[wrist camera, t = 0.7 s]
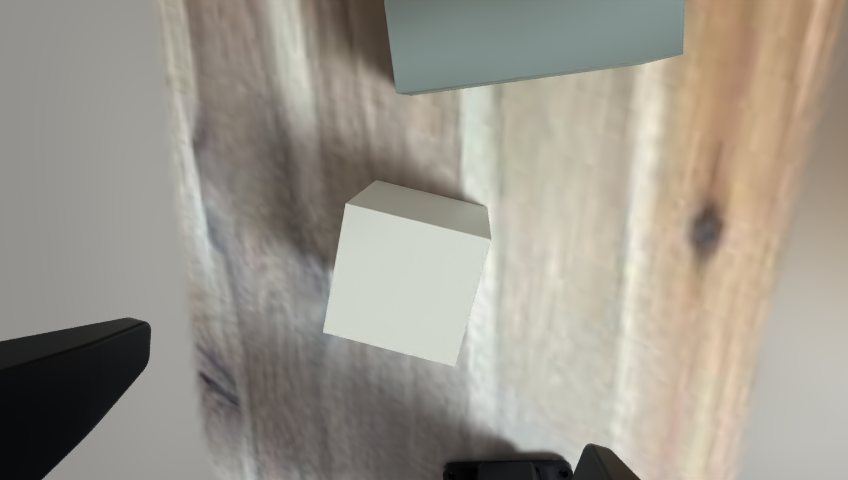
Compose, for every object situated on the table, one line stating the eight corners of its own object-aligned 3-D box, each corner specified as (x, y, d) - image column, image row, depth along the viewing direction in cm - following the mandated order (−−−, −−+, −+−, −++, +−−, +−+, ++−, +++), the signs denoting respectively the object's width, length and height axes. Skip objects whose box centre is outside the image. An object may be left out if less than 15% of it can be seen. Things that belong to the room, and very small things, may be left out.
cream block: (487, 206, 20) (491, 239, 15) (459, 307, 21) (454, 366, 16) (376, 179, 20) (345, 203, 15) (356, 281, 21) (323, 332, 17)
